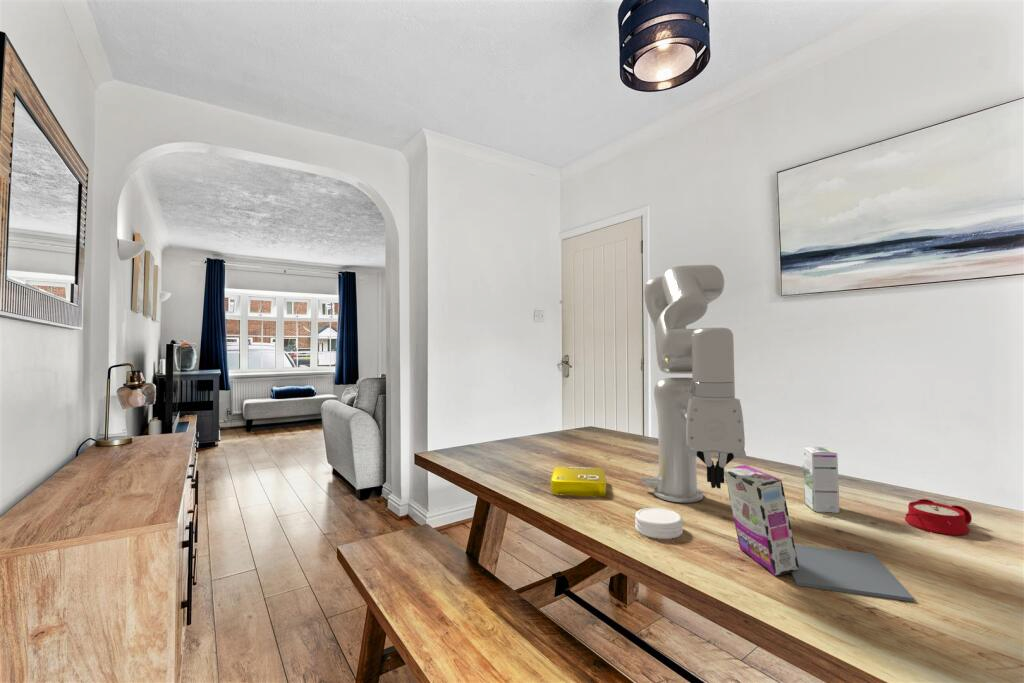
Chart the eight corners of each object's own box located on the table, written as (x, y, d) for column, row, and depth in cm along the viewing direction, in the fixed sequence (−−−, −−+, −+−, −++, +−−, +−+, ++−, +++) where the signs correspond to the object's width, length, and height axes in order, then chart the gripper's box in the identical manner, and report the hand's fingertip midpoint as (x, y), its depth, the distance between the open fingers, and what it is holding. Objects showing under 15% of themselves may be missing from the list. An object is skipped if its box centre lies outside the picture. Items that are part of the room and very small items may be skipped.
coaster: (658, 544, 95) (658, 527, 95) (625, 527, 104) (625, 511, 104) (692, 534, 100) (692, 518, 100) (658, 518, 109) (658, 504, 109)
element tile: (604, 481, 138) (604, 465, 138) (606, 498, 124) (606, 481, 124) (554, 480, 141) (554, 464, 141) (550, 496, 126) (550, 479, 126)
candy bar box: (802, 570, 81) (783, 479, 81) (775, 577, 81) (757, 486, 80) (761, 542, 92) (745, 463, 92) (738, 549, 92) (722, 468, 92)
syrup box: (840, 513, 109) (839, 452, 109) (812, 512, 110) (811, 451, 111) (829, 505, 115) (828, 447, 115) (802, 503, 116) (801, 446, 116)
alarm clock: (897, 510, 102) (915, 482, 110) (899, 536, 103) (917, 506, 111) (961, 524, 93) (976, 493, 102) (964, 552, 94) (978, 519, 103)
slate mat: (796, 585, 78) (796, 581, 78) (777, 545, 93) (777, 542, 93) (913, 601, 73) (913, 598, 73) (873, 556, 88) (873, 553, 88)
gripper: (672, 392, 88) (674, 488, 88) (759, 393, 83) (762, 495, 83) (672, 389, 96) (674, 478, 95) (753, 390, 90) (755, 484, 90)
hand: (715, 486), depth 89 cm, fingers closed
